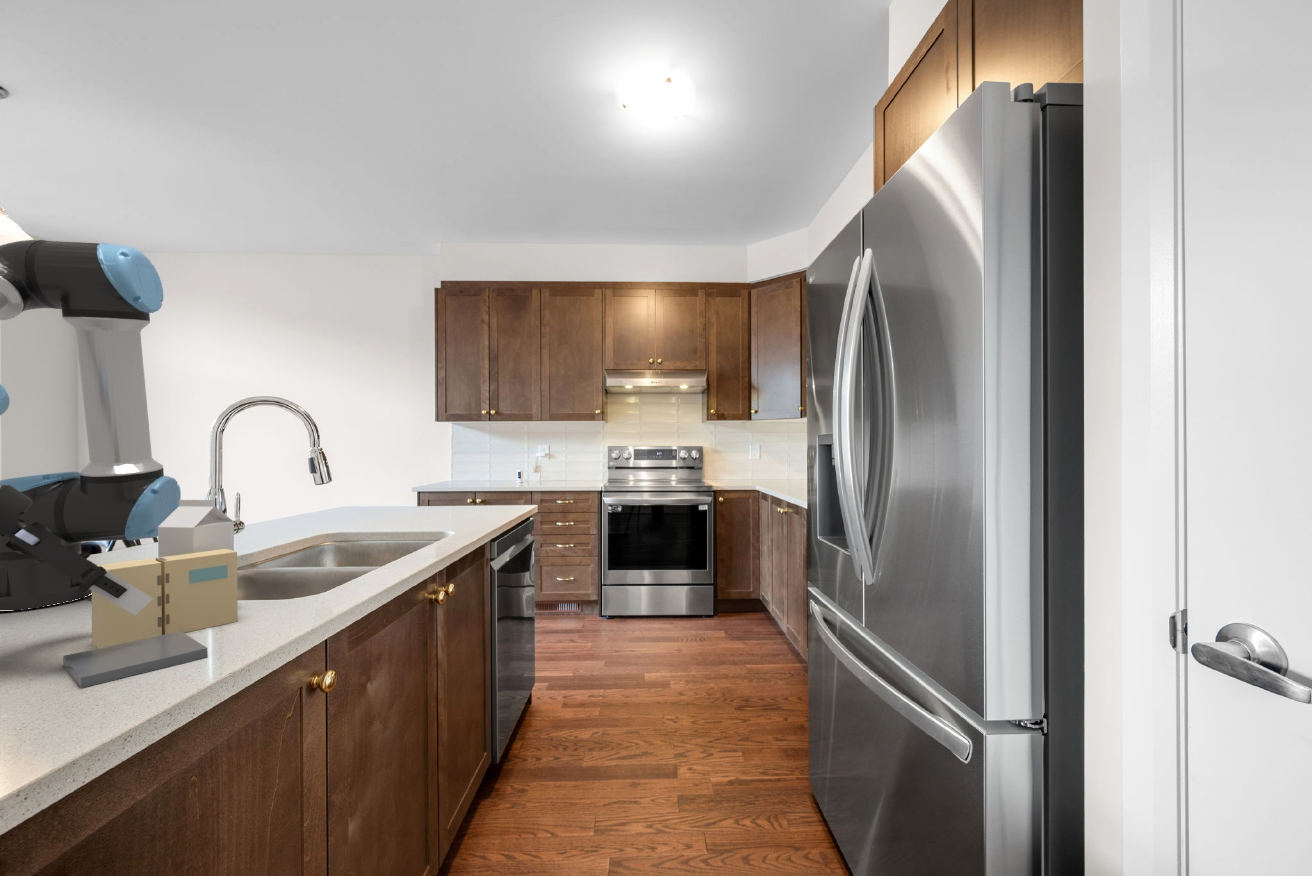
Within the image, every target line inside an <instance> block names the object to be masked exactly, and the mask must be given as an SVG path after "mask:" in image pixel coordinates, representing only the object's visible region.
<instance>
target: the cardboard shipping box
mask: <svg viewBox="0 0 1312 876" xmlns="http://www.w3.org/2000/svg"><path fill="white" fill-rule="evenodd" d="M155 560H156V561H158V562H160V563H161V596H162V635H165V634H170V633H174V632H179V631H181V632H183V633H184V634H186V633H190V632H195V631H198V630H203V629H208V628H213V627H216V626H217V627H218V626H223V625H227V624H232V623H236V622H237V623H238V621H239V620H238V615H239V613H238V610H239V609H238V552H237V551H235V550H234V551H232V550H229V549H221V550H213V551H205V552H197V553H190V554H182V555H174V556H166V557H155Z"/></svg>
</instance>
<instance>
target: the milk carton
mask: <svg viewBox="0 0 1312 876" xmlns="http://www.w3.org/2000/svg"><path fill="white" fill-rule="evenodd" d="M234 529H235V527H234V521H233V519H231V518H230V517H229V516H228V515H226V514H225V513H224V512H222V511H221V510H220V509H219V508H217V507H216V500H215V499H180V500H179V507H178V508H177V509H176V510H175V511H174V512H172V513H171V514H170V515H169V516H168V517H167V518H166V519H165V520H164V521H163V522H162V523H161V524H160V525H159V526H158V536H157V537H158V538H157V539H158V540H157V541H158V545H157V546H158V548H157V549H158V550H157V551H158V553H157V555H158V557H166V556H174V555H182V554H190V553H197V552H205V551H213V550H221V549H229V550H232V551H235V548H234V547H235V546H234V545H235V544H234V543H235V539H234V537H235V536H234V534H235V532H234ZM158 557H157V558H158Z"/></svg>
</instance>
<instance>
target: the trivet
mask: <svg viewBox="0 0 1312 876" xmlns="http://www.w3.org/2000/svg"><path fill="white" fill-rule="evenodd" d="M205 658H208V647H207V646H205V645H204V644H202V643H200V642H199V641H197V640H195V639H194V638H192V637H191V636H189V635H188V634H186V633H183V632H181V631H179V632H174V633H170V634H165V635H160V636H155V637H151V638H146V639H141V640H136V641H131V642H127V643H122V644H117V645H112V646H108V647H103V648H95V649H90V650H89V649H88V650H84V651H79V652H75V653H70V654H66V655H63V656H62V666H63V667H64V669H65V670H66V671H67V673H68V674H69V675H70V676H71V678H72V679H73V680H74V682H75V683H76V684H77V686H79V688H80V689H84V688H87V687H92V686H95V685H99V684H103V683H106V682H107V683H108V682H112V681H115V680H119V679H124V678H128V677H129V678H130V677H132V676H137V675H140V674H144V673H148V672H149V673H150V672H152V671H156V670H160V669H165V668H168V667H169V668H170V667H173V666H178V665H181V664H185V663H189V662H194V661H198V660H202V659H205Z"/></svg>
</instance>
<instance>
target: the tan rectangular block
mask: <svg viewBox="0 0 1312 876" xmlns="http://www.w3.org/2000/svg"><path fill="white" fill-rule="evenodd" d="M97 566H101V567H103V568H104V569H106V571H109V572H111V573H112V574H114V575H116V576H117V577H119V578H120V579H122V580H124V581H125V582H127V583H129V584H130V585H132V586H134V587H135V588H137V589H139V590H140V591H142V592H144V593H145V594H147V595H148V596H150V597H152V598H153V600H151V601H150V602H149V603H148V604H147V605H146V606H145V607H144V608H143V609H142V610H141V611H140V612H139V613H138V614H137V615H136V616H135V615H133V614H131V613H130V612H128V611H126V610H125V609H123V608H121V607H119V606H118V605H116V604H114V603H112V602H111V601H109V600H107V599H106V598H104V597H102V596H100V595H99V594H97V593H95V592H93V591H92V596H91V644H92V645H93V646H94V647H95V648H96V649H98V648H103V647H108V646H112V645H117V644H122V643H127V642H131V641H136V640H141V639H146V638H151V637H155V636H160V635H162V596H161V563H160V562H158V561H156V559H153V558H143V559H135V560H128V561H127V560H126V561H121V562H120V561H119V562H111V563H104V564H97Z"/></svg>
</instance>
